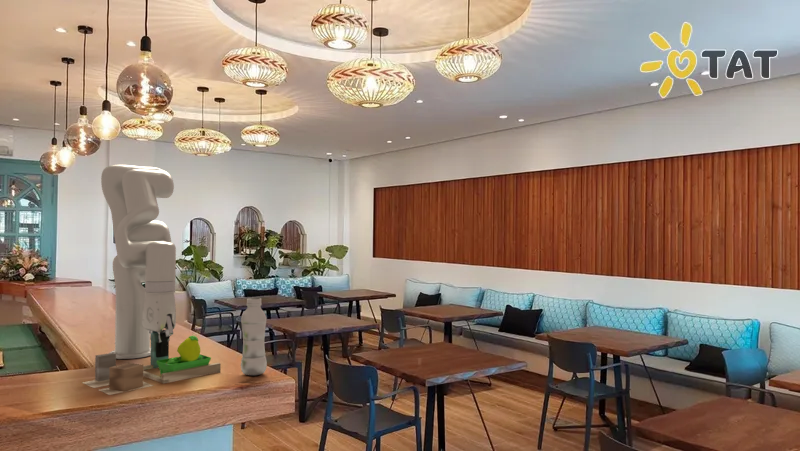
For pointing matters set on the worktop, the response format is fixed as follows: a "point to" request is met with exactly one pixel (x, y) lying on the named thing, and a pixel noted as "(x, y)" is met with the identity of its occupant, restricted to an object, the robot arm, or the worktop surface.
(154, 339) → the wooden serving tray
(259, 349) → the plastic bottle
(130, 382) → the walnut cube
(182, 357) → the fruit basket
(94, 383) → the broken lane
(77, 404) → the worktop surface
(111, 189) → the robot arm
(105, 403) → the worktop surface
